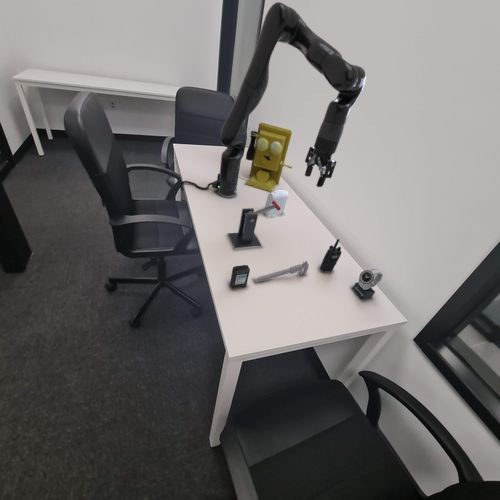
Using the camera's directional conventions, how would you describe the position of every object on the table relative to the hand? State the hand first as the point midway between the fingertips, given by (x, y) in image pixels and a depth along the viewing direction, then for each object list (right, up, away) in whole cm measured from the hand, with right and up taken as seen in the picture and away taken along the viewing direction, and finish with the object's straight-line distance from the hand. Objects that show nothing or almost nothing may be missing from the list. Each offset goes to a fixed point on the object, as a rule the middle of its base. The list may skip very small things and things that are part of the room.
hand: (313, 181), depth 98 cm
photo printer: (-12, -8, +29) cm, 32 cm away
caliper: (-13, -36, -5) cm, 38 cm away
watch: (+16, -41, -4) cm, 45 cm away
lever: (-19, -12, +1) cm, 22 cm away
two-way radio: (+5, -33, +3) cm, 34 cm away
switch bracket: (-26, -22, +7) cm, 35 cm away
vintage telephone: (-18, +12, +53) cm, 57 cm away
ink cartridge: (-28, -38, -12) cm, 48 cm away
